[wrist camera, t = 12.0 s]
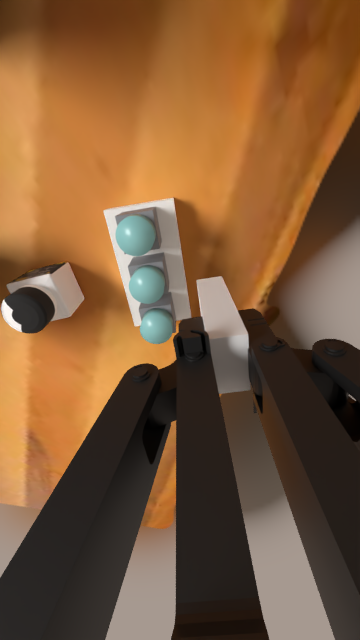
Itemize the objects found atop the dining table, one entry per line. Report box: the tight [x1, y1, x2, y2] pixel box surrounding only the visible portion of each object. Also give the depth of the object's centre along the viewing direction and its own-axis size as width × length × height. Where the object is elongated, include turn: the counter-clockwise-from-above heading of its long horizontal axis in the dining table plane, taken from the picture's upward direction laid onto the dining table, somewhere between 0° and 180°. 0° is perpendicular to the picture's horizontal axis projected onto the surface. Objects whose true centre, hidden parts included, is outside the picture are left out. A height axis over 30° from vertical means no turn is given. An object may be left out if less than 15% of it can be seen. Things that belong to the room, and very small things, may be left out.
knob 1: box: [115, 214, 156, 256], centre depth 35 cm, size 5×5×8 cm
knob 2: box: [129, 265, 165, 304], centre depth 38 cm, size 5×5×8 cm
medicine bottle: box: [1, 262, 84, 333], centre depth 40 cm, size 7×7×12 cm
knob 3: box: [140, 308, 173, 344], centre depth 41 cm, size 5×5×8 cm
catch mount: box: [104, 197, 191, 333], centre depth 40 cm, size 10×19×8 cm, turn 9°
